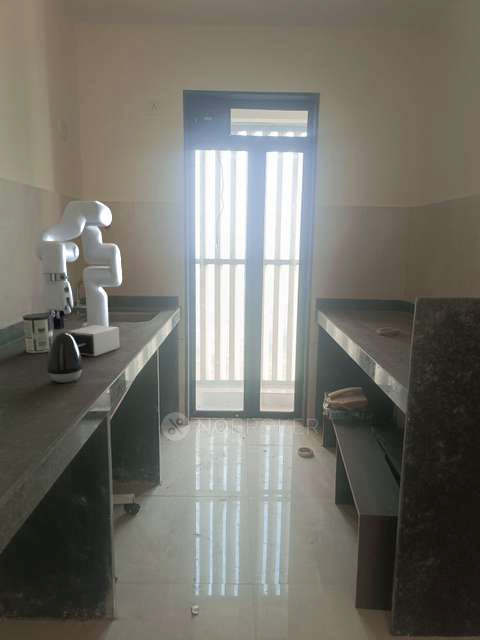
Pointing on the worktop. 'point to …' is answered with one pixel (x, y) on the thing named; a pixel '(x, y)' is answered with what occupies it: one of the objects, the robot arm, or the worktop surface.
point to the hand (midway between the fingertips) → (59, 328)
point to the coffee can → (38, 332)
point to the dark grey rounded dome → (64, 359)
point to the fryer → (100, 338)
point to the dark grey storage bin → (84, 343)
